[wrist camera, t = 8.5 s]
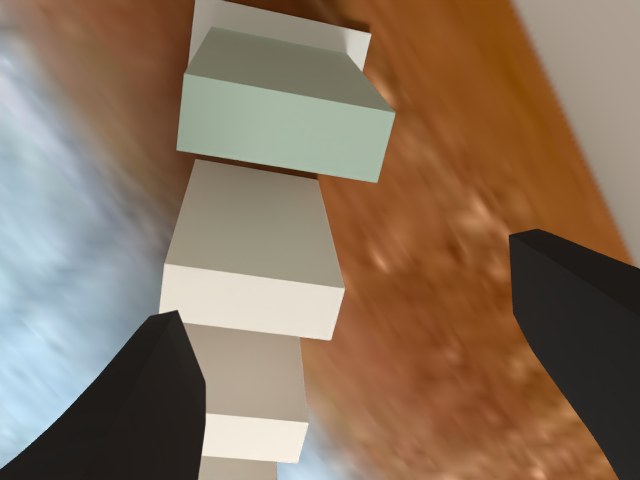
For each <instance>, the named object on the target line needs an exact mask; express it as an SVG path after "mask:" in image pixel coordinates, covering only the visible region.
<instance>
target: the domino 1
mask: <svg viewBox="0 0 640 480" xmlns="http://www.w3.org/2000/svg"><path fill="white" fill-rule="evenodd" d="M394 117H395V112H394V110H393V109H392V108H391V107H390V105H389V104H388V103H387V102H386V101H385V99H384V98H383V97H382V96H381V94H380V93H379V92H378V91H377V90H376V88H375V87H374V86H373V85H372V83H371V82H370V81H369V80H368V79H367V77H366V76H365V75H364V74H363V72H362V71H361V70H360V69H359V67H358V66H357V65H356V64H355V63H354V61H353V60H352V59H351V58H350V56H349V55H348V54H346V53H341V52H336V51H331V50H326V49H321V48H316V47H311V46H307V45H302V44H297V43H292V42H287V41H282V40H277V39H272V38H267V37H262V36H257V35H252V34H247V33H242V32H237V31H232V30H227V29H222V28H217V27H212V26H211V28H210V30H209V32H208V33H207V35H206V37H205V38H204V40H203V42H202V44H201V45H200V47H199V49H198V50H197V52H196V54H195V56H194V57H193V59H192V61H191V63H190V64H189V66H188V68H187V69H186V71H185V73H184V79H183V89H182V99H181V109H180V119H179V129H178V139H177V149H176V150H179V151H185V152H191V153H197V154H203V155H209V156H215V157H222V158H228V159H234V160H240V161H246V162H252V163H258V164H265V165H271V166H277V167H283V168H289V169H295V170H301V171H308V172H314V173H320V174H326V175H332V176H338V177H344V178H351V179H357V180H363V181H369V182H375V183H377V181H378V177H379V174H380V170H381V166H382V162H383V159H384V155H385V151H386V147H387V143H388V140H389V136H390V132H391V128H392V125H393V121H394Z"/></svg>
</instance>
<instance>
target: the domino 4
mask: <svg viewBox="0 0 640 480" xmlns="http://www.w3.org/2000/svg"><path fill="white" fill-rule="evenodd" d="M198 480H277V462H274V461H262V460H249V459H237V458H224V457H212V456H201V463H200V470H199V477H198Z"/></svg>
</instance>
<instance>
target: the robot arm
mask: <svg viewBox="0 0 640 480" xmlns="http://www.w3.org/2000/svg"><path fill="white" fill-rule="evenodd" d="M509 247H510V265H511V283H512V302H513V314H514V316H515V318H516V320H517V322H518V324H519V326H520V328H521V330H522V332H523V334H524V336H525V338H526V340H527V341H528V343H529V345H530V347H531V349H532V351H533V352H534V354H535V355H536V357H537V358H538V360H539V361H540V362H541V364H542V365H543V367H544V368H545V369H546V371H547V372H548V374H549V375H550V377H551V378H552V379H553V381H554V382H555V384H556V385H557V386H558V388H559V389H560V391H561V392H562V393H563V395H564V396H565V397H566V399H567V400H568V402H569V403H570V404H571V406H572V407H573V409H574V410H575V411H576V413H577V414H578V416H579V417H580V418H581V420H582V421H583V423H584V424H585V425H586V427H587V428H588V430H589V431H590V432H591V434H592V435H593V437H594V438H595V440H596V441H597V443H598V445H599V446H600V448H601V449H602V451H603V452H604V454H605V456H606V457H607V459H608V461H609V463H610V465H611V466H612V468H613V470H614V472H615V473H616V475H617V477H618V479H619V480H640V269H639V268H637V267H634V266H631V265H629V264H626V263H623V262H621V261H618V260H615V259H613V258H610V257H608V256H605V255H603V254H600V253H598V252H595V251H593V250H590V249H588V248H586V247H583V246H581V245H578V244H576V243H574V242H571V241H569V240H566V239H564V238H561V237H559V236H556V235H554V234H551V233H549V232H546V231H543V230H540V229H534V230H529V231H525V232H520V233H516V234H511V235H509ZM205 426H206V381H205V379H204V376H203V374H202V371H201V369H200V366H199V363H198V361H197V358H196V356H195V353H194V350H193V348H192V345H191V343H190V340H189V338H188V335H187V332H186V330H185V327H184V325H183V322H182V319H181V317H180V314H179V312H178V310H174V311H170V312H166V313H161V314H157V315H152V316H150V317H149V318H148V319H147V320H146V321H145V322H144V323H143V324H142V325H141V326H140V327H139V329H138V330H137V331H136V332H135V333H134V334H133V336H132V337H131V338H130V339H129V340H128V342H127V343H126V344H125V345H124V346H123V348H122V349H121V350H120V351H119V352H118V354H117V355H116V356H115V357H114V358H113V359H112V361H111V362H110V363H109V364H108V365H107V366H106V368H105V369H104V370H103V371H102V372H101V373H100V375H99V376H98V377H97V378H96V379H95V380H94V381H93V382H92V383H91V385H90V386H89V387H88V388H87V389H86V390H85V391H84V392H83V393H82V394H81V395H80V396H79V397H78V398H77V400H76V401H75V402H74V403H73V404H72V405H71V406H70V407H69V408H68V409H67V410H66V411H65V412H64V413H63V414H62V415H61V416H60V417H59V418H58V419H57V420H56V421H55V422H54V423H53V424H52V425H51V426H50V427H49V428H48V429H47V430H46V431H45V432H44V433H42V434H41V435H40V436H39V437H38V438H37V439H36V440H35V441H34V442H32V443H31V444H30V445H29V446H28V447H27V448H26V449H25V450H23V451H22V452H21V453H20V454H19V455H18V456H16V457H15V458H14V459H13V460H11V461H10V462H9V463H8V464H6V465H5V466H4V467H3V468H1V469H0V480H198V477H199V470H200V463H201V456H202V449H203V442H204V434H205Z"/></svg>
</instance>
